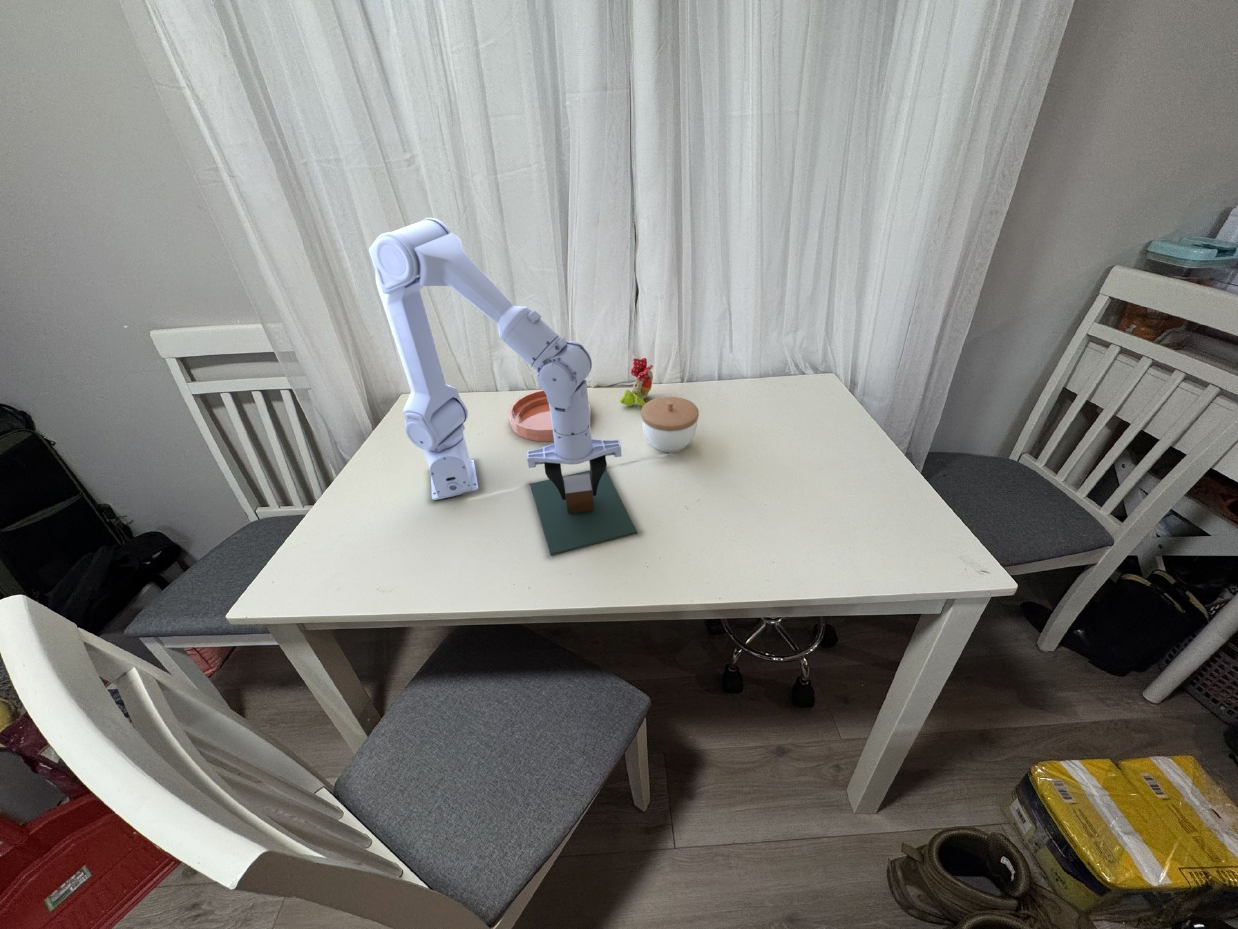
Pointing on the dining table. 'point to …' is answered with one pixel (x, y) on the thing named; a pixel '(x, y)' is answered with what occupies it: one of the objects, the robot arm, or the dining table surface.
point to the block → (578, 493)
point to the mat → (581, 516)
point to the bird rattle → (639, 383)
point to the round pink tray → (533, 417)
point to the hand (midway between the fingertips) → (579, 494)
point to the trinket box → (669, 423)
